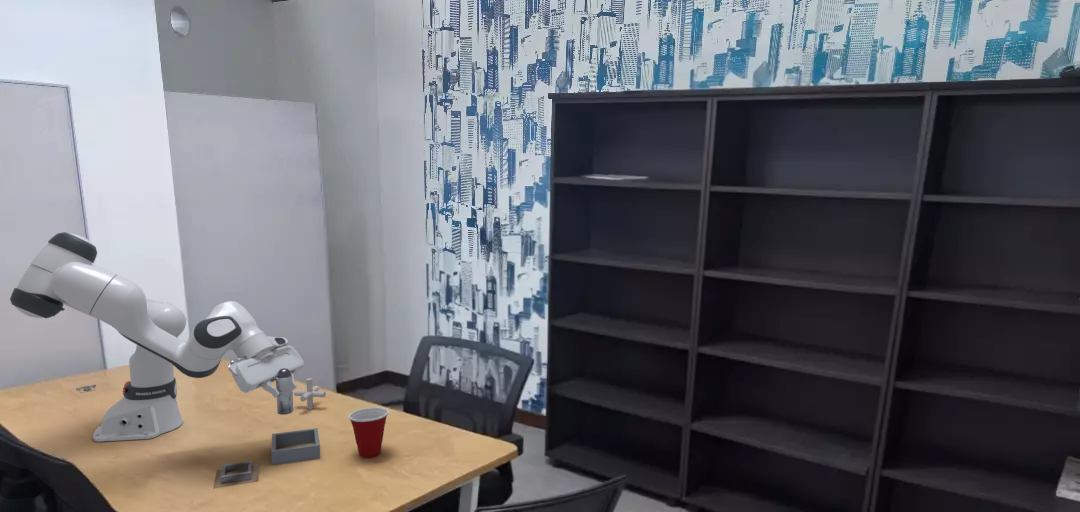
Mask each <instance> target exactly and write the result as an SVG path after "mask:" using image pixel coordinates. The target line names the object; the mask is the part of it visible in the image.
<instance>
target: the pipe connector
mask: <svg viewBox="0 0 1080 512" xmlns="http://www.w3.org/2000/svg"><path fill="white" fill-rule="evenodd" d="M305 382H306V390H303V389H302V390H301V389H299V390H297V389H296V390H295V389H294V390H293V396H295V397H300V398H299V400H300V401H301V402H305V401H306V406H307V410H312V409H314V398H326V395H327V394H326V391H322V390H321V391H319V390H320V386H319V385H315V386H313V378H311V377H309V378H306V381H305Z"/></svg>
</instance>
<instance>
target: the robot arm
mask: <svg viewBox="0 0 1080 512" xmlns="http://www.w3.org/2000/svg"><path fill="white" fill-rule="evenodd" d="M97 256H98V250H97V247H96V246H95V245H94V244H93V243H92V242H91V241H90V240H89V239H87V238H86V237H85V236H82V235H79V234H76V233H70V232H58V233H56V234H55V235H53V236H52V237H51V238H50V239H49V240H48V241H47V244H46V245H45V246H44V247H43V248H42V249H41V250H40V251H39V252H38V254H37V255H36V256H35V257H34V258H33V260H32V261H31V263H30V265H29V267H28V268H27V269H26V271H25V273H24V274H23V275H22V277H21V279H20V280H19V283H18V285H17V287H14V289H13V290H12V293H11V295H10V298H9V301H10V303H11V305H12V306H14V307H15V309H16V310H17V311H19V312H20V313H21V314H23V315H26V316H28V317H32V318H37V319H39V318H40V319H49V318H52V317H55V316H56V315H58V314H59V313H60V312H61V311H62V312H63V311H65V310H66V308H64V306H67V307H69V308H71V309H73V310H76V311H78V312H80V313H83V314H85V315H87V316H90V317H92V318H95V319H97V320H99V321H101V322H104V323H105V324H107V325H109V326H111V327H112V328H113V329H115V330H116V331H117V332H118V333H119V334H120V335H121V336H122V337H123V338H124V339H127V340H128V341H129V342H132V343H133V344H135V345H136V348H135V351H134V353H133V354H132V355H131V356H130V357H129V361H128V364H129V365H128V366H129V374H130V375H129V378H130V379H129V380H128V381H126V382H125V384H124V385H123V389H122V395H123V397H122V398H121V399H119V400H118V401H117V402H115V403H114V404H113V405H112V406H110V407H109V408H108V409H107V410H106V412H105V414H104V415H103V418H102V422H101V423H102V424H100V425H99V426H98V427H97V428H96V429H95V430H94V432H93V433H92V434H93V436H92V437H93V438H92V439H93V441H95V442H98V443H99V442H113V441H114V442H115V441H116V442H117V441H118V442H119V441H132V440H133V441H134V440H149V439H154V438H156V437H158V436H160V435H162V434H165V433H168V432H171V431H173V430H175V429H177V428H179V427H180V426H181V425H183V423H184V420H183V418H182V416H181V413H180V410H179V405H178V401H177V395H178V386H177V379H176V377H175V372H174V371H175V370H174V367H175V368H176V369H177V370H179V372H180V373H182V374H183V375H185V376H187V377H189V378H194V379H203V378H207V377H209V376H211V375H213V374H214V373H216V371H217V370H218V368H219V366H220V364H221V361H222V359H223V357H224V356H225V354H226V353H227V352H228V351H232V352H234V354H235V356H236V357H237V358H236V359H232V360H231V361H229V363H228V365H227V369H228V370H229V372H230V373H231V374H232V377H233V380H234V382H235V383H236V386H237V387H238V389H239V390H240V391H241V392H243V393H249V392H252V391H254V390H257V389H259V388H262V390H264V391H265V392H267V393H269V394H271V395H272V396H273V398H275V399H277V397H278V396H280V395H281V394H282V391H281V390H280V389H279V388H276V386H274V385H272V383H274V382H276V376H277V372H278V371H279V370H280V369H283V368H286V369H289V370H290V372H291V374H292V386H293V391H295V389H297V387H298V385H297V384H296V382H295V379H294V374H297V373H298V372H299V371H301V369H302V368H303V367H304V366H305V360H303V358H302V357H301V355H300V354H299V353H298V351H297V350H296V349H295V348H294V347H293V346H292V345H289V340H288V339H287V338H286V337H283V336H282V337H279V336H278V337H277V336H270V335H269V336H267V335H266V333H265V332H264V331H263V330H262V329H260V327H259V326H258V323H257V320H255V319H254V317H253V316H252V315H251V313H250V312H249V311H248V310H247V309H246V308H245V307H244V306H243V305H242V304H241V303H239V302H237V301H235V300H233V301H232V300H229V301H224V302H221V303H219V304H217V305H215V306H214V307H213V308H212V309H211V311H210V313H209V315H207V317H206V318H204V319H203V320H201V321H199V322H198V323H197V324H196V325H195V326H194V327H193V329H192V331H191V332H190V334H189V336H188V339H187V340H186V341H184V340H182V339H180V338H178V337H179V336H180V335H182V333H183V332H184V330H185V328H186V325H187V317H186V314H185V313H184V312H183V310H181V309H180V308H179V307H177V306H175V305H173V304H171V303H168V302H164V301H163V302H162V301H158V300H153V299H150V298H146V295H145V293H144V290H143V289H142V288H141V287H140V286H139V285H138V284H136V283H134V281H132V280H129V279H128V278H125V277H123V276H121V275H119V274H116V273H114V272H111V271H109V270H106V269H103V268H100V267H98V266H95V265H92V264H94V263H95V260H97V259H96V258H97Z"/></svg>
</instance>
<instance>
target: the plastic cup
mask: <svg viewBox="0 0 1080 512" xmlns="http://www.w3.org/2000/svg"><path fill="white" fill-rule="evenodd" d="M388 415H389V410H388V408H384V407H366V408H365V407H364V408H361V409H360V408H359V409H357V410H354V411H352V412H351V413H349V414H348V416H347V417H348V420H350V422H351V426H352V430H353V434H354V439H355V443H356V446H357V452H358V455H359V456H360V457H361V458H364V459H371V458H375V457H377V456H379V455H380V454H381V451H382V444H383V440H384V432H385V427H386V420H387V417H388Z"/></svg>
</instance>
